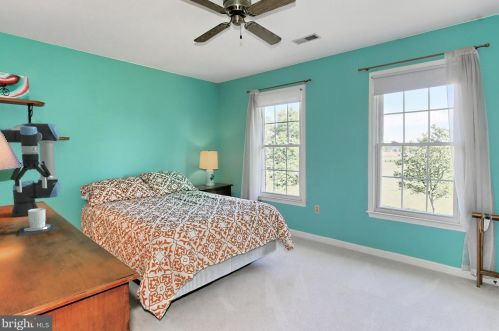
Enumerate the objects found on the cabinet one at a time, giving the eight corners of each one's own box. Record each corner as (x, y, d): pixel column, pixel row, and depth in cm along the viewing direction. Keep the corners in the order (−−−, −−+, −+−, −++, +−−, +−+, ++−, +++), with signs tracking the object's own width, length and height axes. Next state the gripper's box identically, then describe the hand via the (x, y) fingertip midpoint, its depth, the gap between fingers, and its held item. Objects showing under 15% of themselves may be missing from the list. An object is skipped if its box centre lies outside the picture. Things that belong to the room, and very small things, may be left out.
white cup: (26, 229, 149) (25, 211, 148) (32, 225, 157) (31, 208, 156) (42, 228, 152) (42, 210, 151) (48, 224, 159) (47, 207, 158)
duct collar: (20, 229, 155) (20, 226, 154) (54, 224, 164) (54, 221, 164) (18, 236, 144) (18, 232, 143) (55, 230, 153) (55, 227, 153)
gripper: (9, 154, 142) (12, 194, 144) (56, 152, 165) (58, 186, 167) (0, 154, 144) (3, 193, 146) (47, 152, 168) (49, 186, 170)
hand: (32, 189), depth 157 cm, fingers open, 13 cm apart
